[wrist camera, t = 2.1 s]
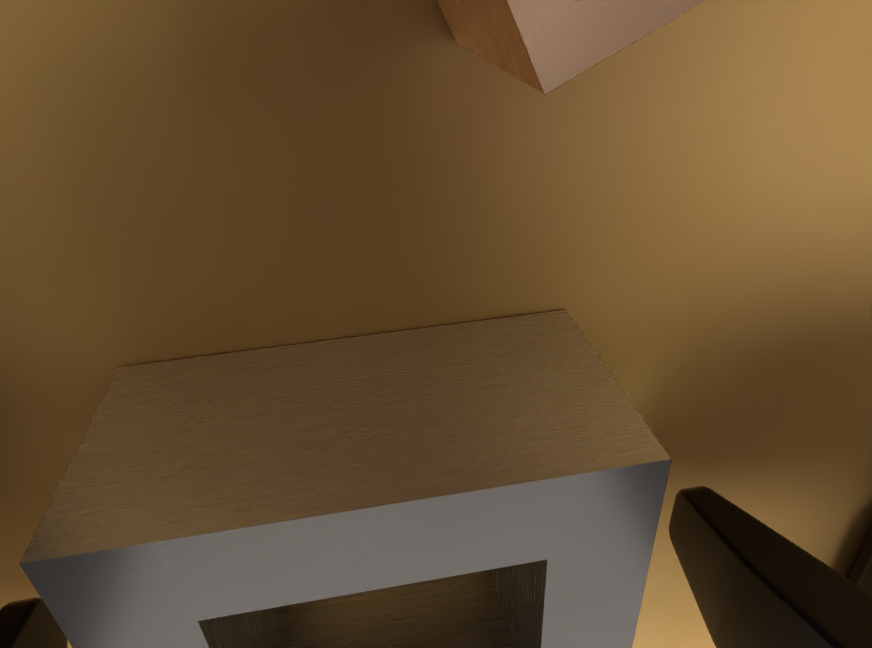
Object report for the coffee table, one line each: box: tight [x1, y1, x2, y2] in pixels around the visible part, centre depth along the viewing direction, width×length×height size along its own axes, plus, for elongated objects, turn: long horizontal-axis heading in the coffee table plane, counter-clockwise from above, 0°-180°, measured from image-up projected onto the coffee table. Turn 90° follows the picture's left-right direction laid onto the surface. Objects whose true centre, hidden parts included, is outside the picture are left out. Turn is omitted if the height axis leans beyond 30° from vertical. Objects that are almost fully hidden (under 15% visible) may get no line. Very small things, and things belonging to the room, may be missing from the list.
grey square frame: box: [20, 310, 671, 648], centre depth 8 cm, size 6×6×3 cm
